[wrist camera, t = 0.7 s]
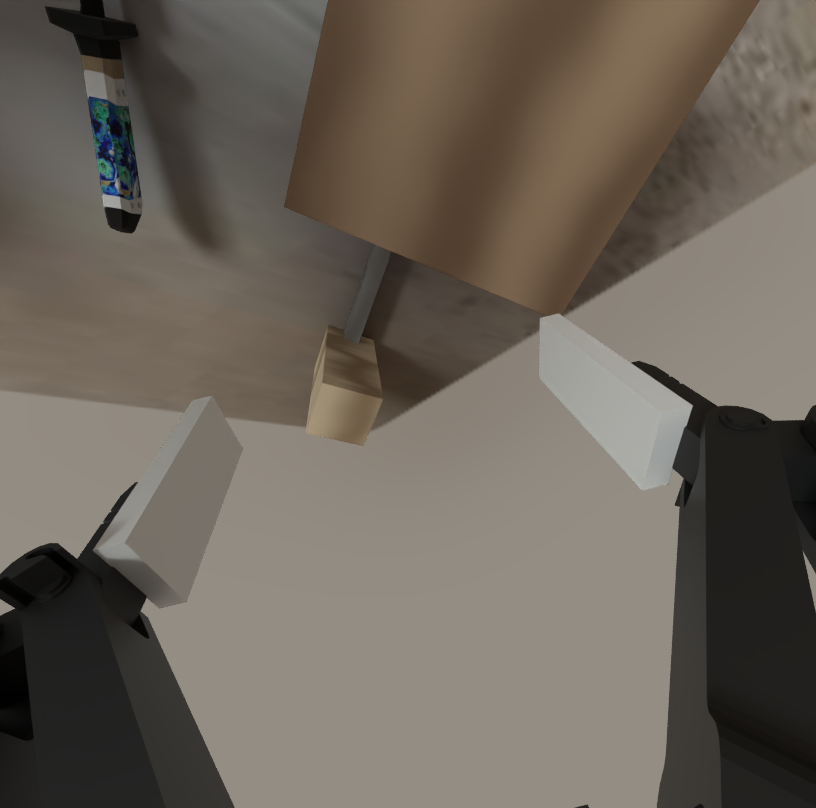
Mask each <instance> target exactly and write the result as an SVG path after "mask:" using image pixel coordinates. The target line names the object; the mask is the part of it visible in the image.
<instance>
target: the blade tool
mask: <svg viewBox="0 0 816 808" xmlns="http://www.w3.org/2000/svg"><path fill="white" fill-rule="evenodd" d="M391 253H392V251H389V250H387V249H384V248H382V247H380V246H377V245H375V244H373V246H372V249H371V252H370V255H369V258H368V261H367V264H366V267H365V270H364V273H363V276H362V279H361V282H360V285H359V288H358V291H357V294H356V297H355V300H354V303H353V306H352V309H351V312H350V315H349V318H348V321H347V324H346V327H345V330H341V329H338V328H335V327H332V326H327V330H326V333H325V336H324V339H323V342H322V346H321V349H320V352H319V355H318V359H317V362H316V365H315V370H314V377H313V384H312V391H311V398H310V405H309V412H308V419H307V427H306V433H307V434H311V435H316V436H321V437H325V438H330V439H334V440H339V441H344V442H348V443H352V444H357V445H361V446H363V445H364V443H365V441H366V439H367V436H368V434H369V432H370V430H371V427H372V425H373V423H374V420H375V418H376V416H377V413H378V411H379V409H380V407H381V404H382V402H383V400H384V399H383V393H382V387H381V381H380V376H379V370H378V364H377V358H376V352H375V346H374V340H372V339H369V338H366V337H362V333H363V330H364V327H365V324H366V322H367V319H368V316H369V313H370V311H371V308H372V305H373V302H374V300H375V297H376V294H377V291H378V289H379V286H380V283H381V280H382V278H383V275H384V272H385V269H386V267H387V264H388V261H389V258H390V256H391Z"/></svg>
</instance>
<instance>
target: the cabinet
mask: <svg viewBox="0 0 816 808" xmlns="http://www.w3.org/2000/svg"><path fill="white" fill-rule="evenodd" d="M759 1H760V0H328V3H327V8H326V12H325V17H324V22H323V27H322V31H321V36H320V41H319V45H318V50H317V55H316V59H315V64H314V69H313V73H312V78H311V83H310V88H309V92H308V97H307V102H306V106H305V111H304V116H303V120H302V125H301V130H300V134H299V139H298V144H297V149H296V153H295V158H294V163H293V167H292V172H291V177H290V181H289V186H288V191H287V196H286V200H285V205H284V207H285V208H288V209H290V210H293V211H295V212H297V213H300V214H302V215H305V216H307V217H310V218H312V219H314V220H317V221H319V222H322V223H324V224H326V225H329V226H331V227H334V228H336V229H339V230H341V231H343V232H346V233H348V234H351V235H353V236H355V237H358V238H360V239H363V240H365V241H368V242H370V243H372V244H375V245H377V246H380V247H382V248H384V249H387V250H389V251H392V252H394V253H397V254H399V255H401V256H404V257H406V258H409V259H411V260H413V261H416V262H418V263H421V264H423V265H426V266H428V267H430V268H433V269H435V270H438V271H440V272H442V273H445V274H447V275H450V276H452V277H455V278H457V279H459V280H462V281H464V282H467V283H469V284H471V285H474V286H476V287H479V288H481V289H484V290H486V291H488V292H491V293H493V294H496V295H498V296H500V297H503V298H505V299H508V300H510V301H513V302H515V303H517V304H520V305H522V306H525V307H527V308H529V309H532V310H534V311H537V312H539V313H542V314H544V315H546V316H550V315H555V314H560V315H562V314H563V312H564V310H565V309H566V307H567V306H568V304H569V302H570V301H571V299H572V298H573V296H574V294H575V293H576V291H577V290H578V288H579V287H580V285H581V283H582V282H583V280H584V279H585V277H586V275H587V274H588V272H589V271H590V269H591V267H592V266H593V264H594V263H595V261H596V260H597V258H598V256H599V255H600V253H601V252H602V250H603V248H604V247H605V245H606V244H607V242H608V240H609V239H610V237H611V236H612V234H613V233H614V231H615V229H616V228H617V226H618V225H619V223H620V221H621V220H622V218H623V217H624V215H625V213H626V212H627V210H628V209H629V207H630V206H631V204H632V202H633V201H634V199H635V198H636V196H637V194H638V193H639V191H640V190H641V188H642V186H643V185H644V183H645V182H646V180H647V179H648V177H649V175H650V174H651V172H652V171H653V169H654V167H655V166H656V164H657V163H658V161H659V159H660V158H661V156H662V155H663V153H664V152H665V150H666V148H667V147H668V145H669V144H670V142H671V140H672V139H673V137H674V136H675V134H676V132H677V131H678V129H679V128H680V126H681V124H682V123H683V121H684V120H685V118H686V117H687V115H688V113H689V112H690V110H691V109H692V107H693V105H694V104H695V102H696V101H697V99H698V97H699V96H700V94H701V93H702V91H703V90H704V88H705V86H706V85H707V83H708V82H709V80H710V78H711V77H712V75H713V74H714V72H715V70H716V69H717V67H718V66H719V64H720V63H721V61H722V59H723V58H724V56H725V55H726V53H727V51H728V50H729V48H730V47H731V45H732V43H733V42H734V40H735V39H736V37H737V36H738V34H739V32H740V31H741V29H742V28H743V26H744V24H745V23H746V21H747V20H748V18H749V16H750V15H751V13H752V12H753V10H754V9H755V7H756V5H757V4H758V2H759Z"/></svg>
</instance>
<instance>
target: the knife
mask: <svg viewBox="0 0 816 808" xmlns="http://www.w3.org/2000/svg"><path fill="white" fill-rule="evenodd" d="M80 4H81V9H80V11H75V10H68V9H61V8H54V7H47V6H45V9H46V12H47V15H48V18H49V21H50V23H52V24H54V25H57V26H59V27H61V28H63V29H65V30H67V31H70V32H72V33H73V34H74V37H75V40H76V42H77V45H78V48H79V51H80V53H81V57H82V64H83V71H84V77H85V84H86V91H87V98H88V104H89V111H90V118H91V124H92V131H93V138H94V144H95V151H96V158H97V164H98V171H99V177H100V184H101V191H102V197H103V204H104V209H105V213H106V218H107V222H108V225H109V226H110V228H112V229H115V230H117V231H120V232H124V233H133V232H134V231H135V229H136V227H137V224H138V222H139V219H140V217H141V213H142V198H141V191H140V184H139V177H138V170H137V163H136V156H135V149H134V142H133V135H132V128H131V121H130V114H129V107H128V100H127V93H126V86H125V79H124V72H123V65H122V57H121V49H120V40H124V39H128V38H133V37H137V36H138V33H137V29H136V25H135V24H132V23H128V22H124V21H120V20H116V19H111V18H107V17H105V15H104V8H103V2H102V0H80Z"/></svg>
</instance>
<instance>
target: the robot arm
mask: <svg viewBox="0 0 816 808" xmlns="http://www.w3.org/2000/svg"><path fill="white" fill-rule="evenodd" d="M539 345H540V346H539V378H540V380H541V381H542V382H543V383H544V384H545V385H546V386H547V387H548V388H549V389H550V390H551V392H552V393H553V394H554V395H555V396H556V397H557V398H558V399H559V400H560V401H561V403H562V404H563V405H564V406H565V407H566V408H567V409H568V410H569V411H570V412H571V413H572V414H573V416H574V417H575V418H576V419H577V420H578V421H579V422H580V423H581V424H582V425H583V427H584V428H585V429H586V430H587V431H588V432H589V433H590V434H591V435H592V436H593V438H595V440H596V441H597V442H598V443H599V444H600V445H601V446H602V447H603V448H604V449H605V450H606V452H607V453H608V454H609V455H610V456H611V457H612V458H613V459H614V460H615V462H616V463H617V464H618V465H619V466H620V467H621V468H622V469H623V470H624V471H625V473H626V474H627V475H628V476H629V477H630V478H631V479H632V480H633V481H634V482H635V483H636V485H637V486H638V487H639V488H640V489H641V490H647V489H650V488H655V487H659V486H663V485H667V484H668V483H669V480H670V476H671V474H672V470H673V469H674V470H675V471H676V472H678V473H679V474H680V475H681V476H682V477H683V478H684V480H683V483H682V485H681V488H680V491H679V494H678V497H677V500H676V503H675V506H680V512H679V530H678V548H677V565H676V584H675V602H674V620H673V638H672V655H671V673H670V691H669V710H668V727H667V745H666V758H665V765H664V770H663V774H662V778H661V782H660V787H659V795H658V802H657V808H816V611H815V607H814V602H813V597H812V593H811V588H810V583H809V579H808V574H807V570H806V565H805V560H804V556H803V551H804V553H805V555H806V557H807V559H808V560H809V562H810V564H811V566H812V568H813V569H814V571H815V573H816V405H815V406H813V407H812V408H811V409H810V411H809V413H808V415H807V416H806V418H805V420H794V421H793V420H792V421H791V420H789V421H772V420H771V419H769V418H768V417H766V416H765V415H764V414H762V413H759V412H757V411H754V410H752V409H748V408H744V407H739V406H719V407H718V406H716V405H715V404H713V403H712V402H710V401H709V400H707V399H706V398H704V397H702V396H701V395H699V394H698V393H696V392H695V391H693V390H692V389H690V388H688V387H687V386H685V385H684V384H680V383H679V381H677V380H676V379H674V378H673V377H669V375H668V374H667V373H665V372H664V371H662V370H660V369H659V368H657V367H655V366H653V365H649V364H647V363H643V362H640V361H637V362H632V363H630V362H629V361H627V360H626V359H624V358H623V357H621V356H620V355H618V354H617V353H616V352H614V351H613V350H611V349H610V348H608V347H607V346H605V345H604V344H602V343H601V342H599V341H598V340H597V339H595V338H593V337H592V336H591V335H589V334H588V333H586V332H585V331H583V330H582V329H581V328H579V327H578V326H576V325H574V324H573V323H571V322H570V321H569V320H568V319H566V318H565V317H563V316H562V315H560V314H555V315H550V316H546V317H542V318H540V341H539ZM242 450H243V448H242V446H241V444H240V443H239V441H238V439H237V437H236V436H235V434H234V433H233V431H232V429H231V427H230V426H229V424H228V422H227V421H226V419H225V417H224V416H223V414H222V412H221V411H220V409H219V407H218V405H217V404H216V402H215V400H214V399H213V397H212V396H209V397H204V398H200V399H196V400H192V402H191V403H190V405H189V406H188V408H187V409H186V411H185V412H184V414H183V415H182V417H181V418H180V420H179V421H178V423H177V424H176V426H175V427H174V429H173V430H172V432H171V433H170V435H169V436H168V438H167V439H166V441H165V442H164V444H163V445H162V447H161V449H160V450H159V451H158V453H157V454H156V456H155V457H154V459H153V460H152V462H151V463H150V465H149V467H148V468H147V470H146V471H145V473H144V474H143V475H142V477H141V479H140V480H139V482H136V483H134V484H133V485H132V486H131V487H130V488H129V489H128V490H127V491H126V492H125V493H123V494H122V495H121V496H120V498H119V499H118V501H117V502H116V504H115V505H114V507H113V508H112V509H111V512H110V513H109V514H108V515H107V517H106V518H105V520H104V521H103V522H104V524H101V525H100V527H99V528H98V530H97V531H96V533H95V534H94V535H93V537H92V538H91V540H90V541H89V543H88V544H87V546H86V547H85V549H84V550H83V551H82V553H81V554H80V556H79V557H78V559H76V558H75V557H74V556H73V555H71V554H70V553H69V552H68V551H67V550H65V549H64V548H63V547H62V546H60V545H59V544H58V543H49V544H46V545H43V546H40V547H37V548H35V549H33V550H31V551H30V552H28V553H26V554H24V555H23V556H22V557H20V558H19V559H17V560H16V561H15V562H13V563H12V564H10V565H9V566H8V567H7V568H6V569H5V570H4V571H3V572H2V573H1V574H0V599H1V600H3V601H5V602H6V603H8V604H9V605H11V606H13V607H14V608H15V609H13V610H11V611H9V612H7V613H5V614H3V615H1V616H0V808H234V805H233V803H232V801H231V799H230V797H229V794H228V792H227V790H226V788H225V786H224V783H223V781H222V779H221V777H220V775H219V772H218V771H217V768H216V766H215V764H214V762H213V759H212V757H211V755H210V753H209V751H208V748H207V746H206V744H205V742H204V740H203V737H202V735H201V733H200V731H199V729H198V726H197V724H196V722H195V720H194V718H193V716H192V713H191V711H190V709H189V707H188V705H187V702H186V700H185V698H184V696H183V694H182V692H181V689H180V687H179V685H178V683H177V680H176V678H175V676H174V674H173V672H172V670H171V667H170V665H169V663H168V661H167V659H166V656H165V654H164V652H163V650H162V648H161V645H160V643H159V641H158V639H157V637H156V634H155V632H154V630H153V628H152V626H151V624H150V621H149V619H148V617H146V616H145V615H144V614H143V613H142V612H141V609H142V606H143V604H144V602H145V600H146V598H148V599H149V600H150V601H151V602H152V603H154V604H155V605H156V606H157V607H158V608H164V607H168V606H172V605H176V604H180V603H184V602H187V599H188V596H189V593H190V591H191V588H192V585H193V583H194V580H195V577H196V575H197V572H198V569H199V566H200V564H201V561H202V558H203V555H204V553H205V550H206V547H207V544H208V542H209V539H210V537H211V534H212V531H213V529H214V526H215V523H216V520H217V518H218V515H219V512H220V509H221V507H222V504H223V501H224V499H225V496H226V493H227V490H228V488H229V485H230V482H231V480H232V477H233V474H234V472H235V469H236V466H237V464H238V461H239V458H240V455H241V453H242ZM802 550H803V551H802ZM577 808H589V807H588V805H584V806H580V807H577Z"/></svg>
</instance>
